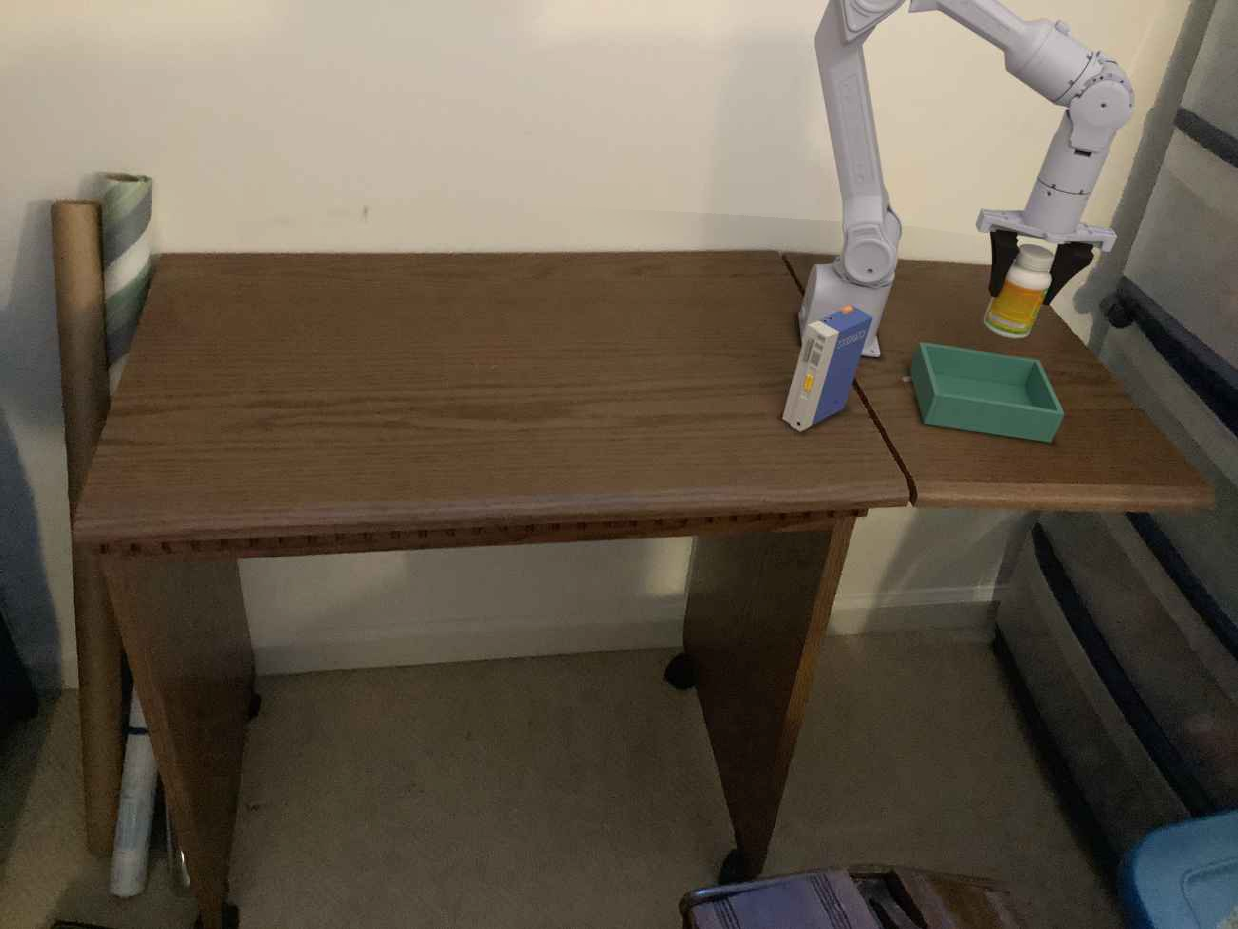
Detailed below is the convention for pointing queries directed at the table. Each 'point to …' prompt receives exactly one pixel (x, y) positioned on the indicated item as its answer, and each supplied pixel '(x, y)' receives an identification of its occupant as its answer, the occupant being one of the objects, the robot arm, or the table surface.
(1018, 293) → the supplement bottle
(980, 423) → the tray
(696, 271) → the table surface
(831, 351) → the walkman
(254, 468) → the table surface
